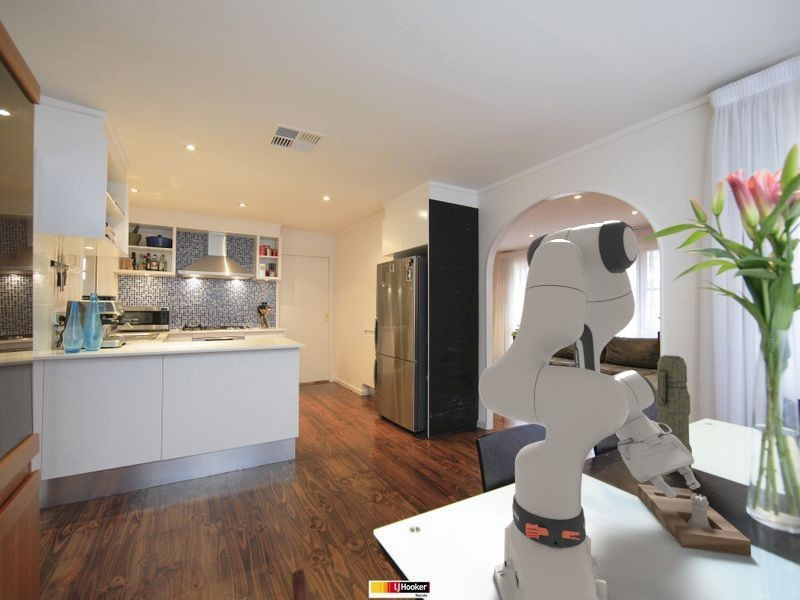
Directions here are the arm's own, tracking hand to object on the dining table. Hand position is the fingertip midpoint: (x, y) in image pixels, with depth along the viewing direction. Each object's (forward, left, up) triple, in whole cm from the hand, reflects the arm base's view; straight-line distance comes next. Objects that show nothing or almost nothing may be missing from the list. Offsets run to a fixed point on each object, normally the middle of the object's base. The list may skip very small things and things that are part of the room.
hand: (685, 492), depth 82 cm
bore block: (+3, -1, -8) cm, 9 cm away
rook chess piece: (-1, -2, -8) cm, 9 cm away
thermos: (+37, -14, -8) cm, 41 cm away
